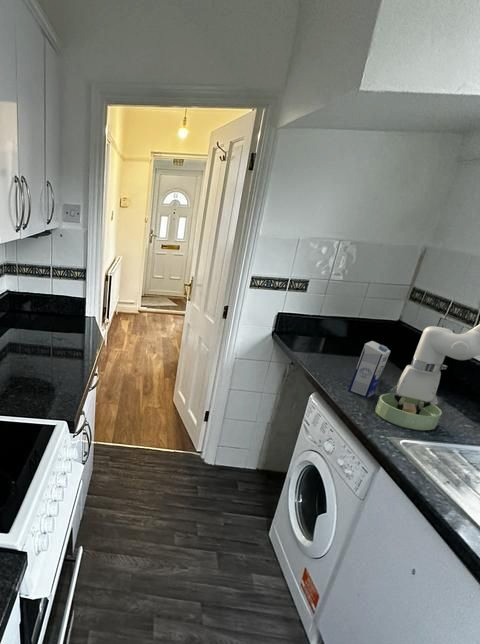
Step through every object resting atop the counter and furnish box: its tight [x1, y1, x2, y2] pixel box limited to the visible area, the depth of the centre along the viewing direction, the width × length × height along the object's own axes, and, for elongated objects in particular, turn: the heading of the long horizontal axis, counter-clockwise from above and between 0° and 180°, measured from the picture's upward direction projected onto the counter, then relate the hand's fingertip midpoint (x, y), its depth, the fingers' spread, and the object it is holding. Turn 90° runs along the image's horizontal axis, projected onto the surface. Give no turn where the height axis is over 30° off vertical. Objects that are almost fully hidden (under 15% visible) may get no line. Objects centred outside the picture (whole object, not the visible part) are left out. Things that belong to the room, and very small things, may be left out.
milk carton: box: [347, 340, 391, 399], centre depth 154 cm, size 7×7×20 cm
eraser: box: [402, 402, 416, 414], centre depth 139 cm, size 4×6×4 cm, turn 149°
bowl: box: [374, 393, 443, 431], centre depth 139 cm, size 17×17×6 cm
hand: (405, 415), depth 140 cm, fingers closed on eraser, 3 cm apart
